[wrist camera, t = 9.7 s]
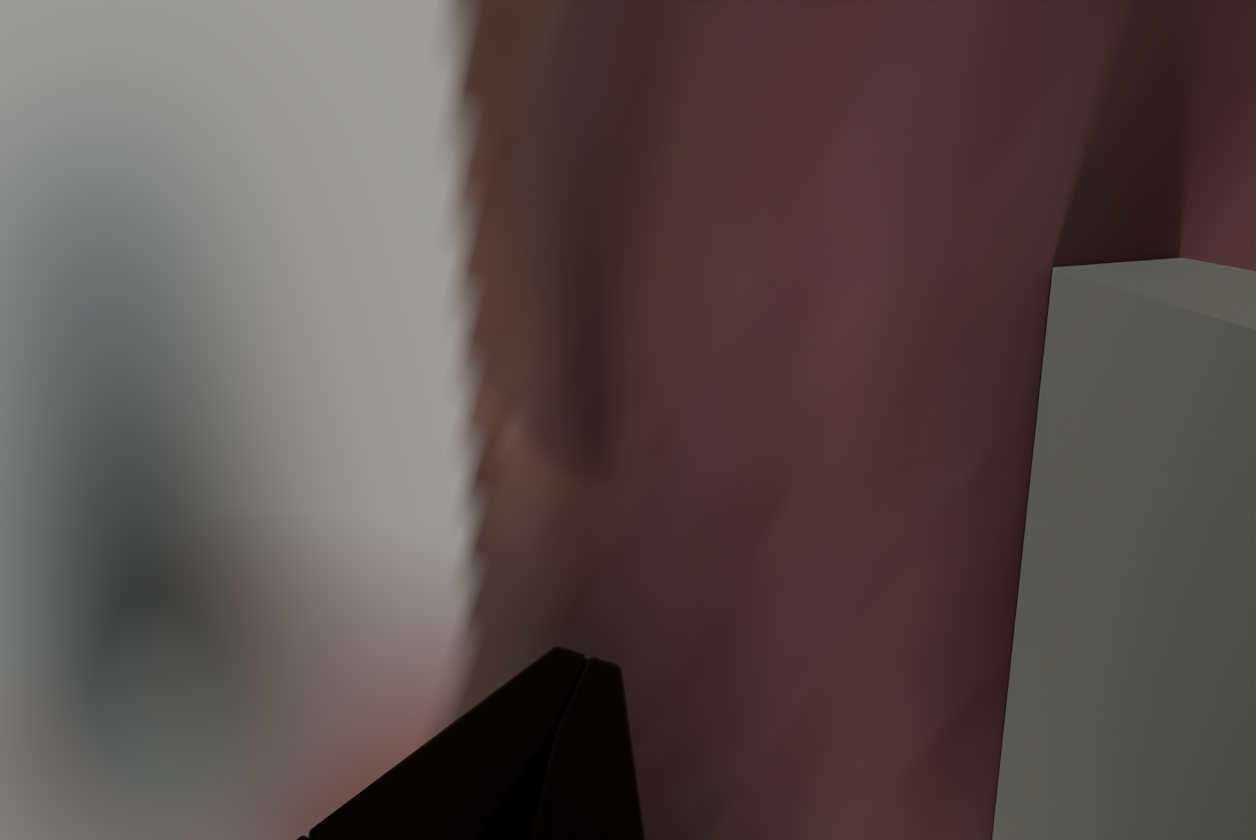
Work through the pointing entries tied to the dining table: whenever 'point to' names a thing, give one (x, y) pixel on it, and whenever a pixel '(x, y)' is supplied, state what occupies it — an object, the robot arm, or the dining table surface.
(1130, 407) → the cover
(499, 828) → the robot arm
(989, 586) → the dining table surface
